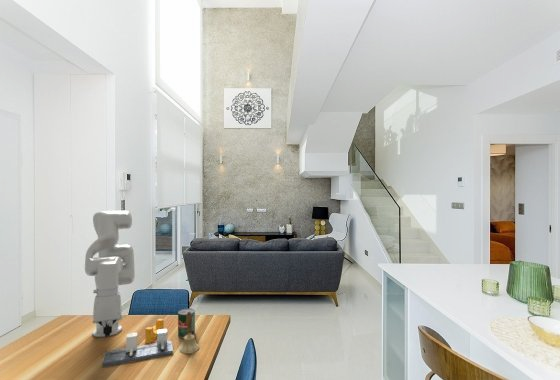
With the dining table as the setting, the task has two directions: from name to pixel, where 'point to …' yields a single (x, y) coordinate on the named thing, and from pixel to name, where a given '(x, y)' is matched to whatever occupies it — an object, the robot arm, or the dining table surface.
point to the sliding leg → (131, 342)
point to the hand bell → (189, 338)
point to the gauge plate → (140, 351)
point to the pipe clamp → (153, 331)
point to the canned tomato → (182, 322)
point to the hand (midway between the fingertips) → (107, 335)
